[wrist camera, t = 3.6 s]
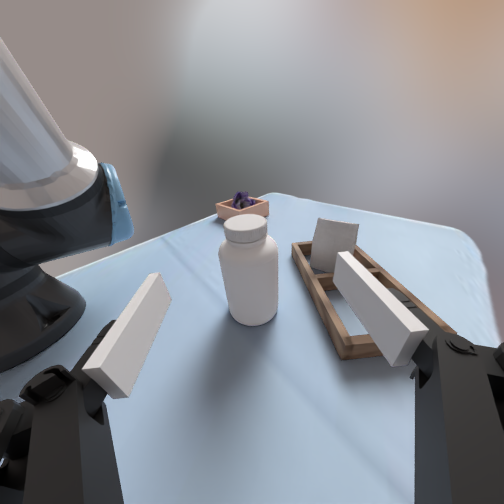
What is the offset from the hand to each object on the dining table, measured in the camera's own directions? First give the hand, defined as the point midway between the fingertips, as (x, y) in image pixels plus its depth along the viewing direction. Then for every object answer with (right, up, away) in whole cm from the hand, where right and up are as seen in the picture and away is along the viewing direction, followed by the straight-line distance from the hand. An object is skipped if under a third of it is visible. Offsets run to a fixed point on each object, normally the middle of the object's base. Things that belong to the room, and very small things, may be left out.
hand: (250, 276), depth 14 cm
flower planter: (-3, +15, +53) cm, 56 cm away
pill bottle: (0, -7, +16) cm, 18 cm away
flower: (-4, +16, +55) cm, 57 cm away
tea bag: (+16, -1, +23) cm, 28 cm away
